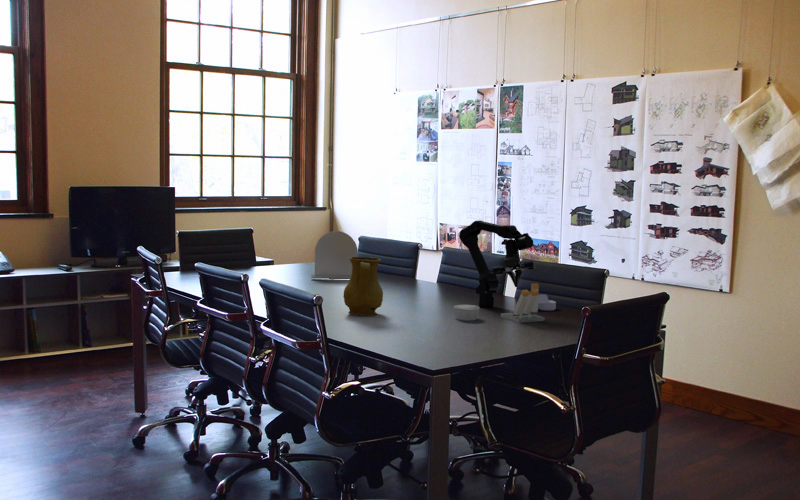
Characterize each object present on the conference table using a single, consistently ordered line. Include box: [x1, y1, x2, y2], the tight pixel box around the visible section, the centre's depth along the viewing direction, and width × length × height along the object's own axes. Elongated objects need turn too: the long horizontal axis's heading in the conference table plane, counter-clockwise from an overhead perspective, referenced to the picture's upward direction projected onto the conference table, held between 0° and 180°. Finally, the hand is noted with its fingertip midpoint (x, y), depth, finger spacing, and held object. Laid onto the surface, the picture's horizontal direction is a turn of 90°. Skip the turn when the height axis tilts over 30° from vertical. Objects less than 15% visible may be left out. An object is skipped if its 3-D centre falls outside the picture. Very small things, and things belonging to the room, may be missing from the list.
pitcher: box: [343, 256, 384, 317], centre depth 326 cm, size 17×19×25 cm
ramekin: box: [453, 304, 481, 322], centre depth 322 cm, size 11×11×5 cm
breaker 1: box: [513, 289, 530, 316], centre depth 317 cm, size 2×3×13 cm
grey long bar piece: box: [522, 288, 540, 315], centre depth 319 cm, size 2×3×13 cm
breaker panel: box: [500, 311, 546, 324], centre depth 325 cm, size 14×13×2 cm
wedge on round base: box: [526, 294, 557, 311], centre depth 350 cm, size 9×7×13 cm
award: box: [310, 230, 359, 279], centre depth 428 cm, size 28×9×28 cm, turn 97°
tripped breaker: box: [530, 282, 540, 315], centre depth 324 cm, size 2×3×13 cm
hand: (516, 286), depth 335 cm, fingers closed
